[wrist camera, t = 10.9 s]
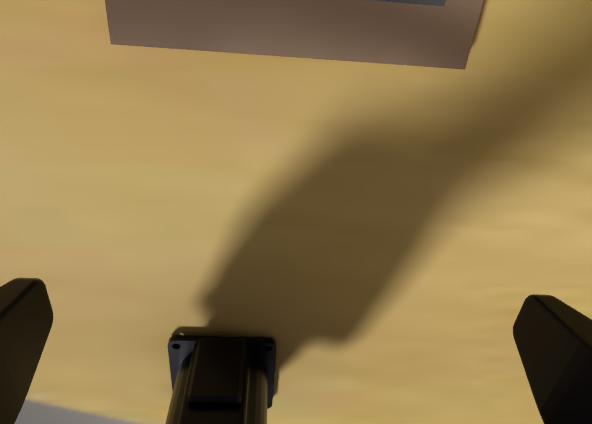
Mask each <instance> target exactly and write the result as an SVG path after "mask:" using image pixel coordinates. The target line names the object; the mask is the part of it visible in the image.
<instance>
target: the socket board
mask: <svg viewBox="0 0 592 424" xmlns="http://www.w3.org/2000/svg"><path fill="white" fill-rule="evenodd" d="M483 1H484V0H446V2H445V7H444V6H431V5H419V4H407V3H394V2H382V1H370V0H105V4H106V12H107V19H108V26H109V33H110V41H111V44H116V45H130V46H144V47H158V48H172V49H186V50H200V51H214V52H228V53H242V54H256V55H270V56H284V57H299V58H313V59H327V60H341V61H355V62H369V63H383V64H397V65H411V66H425V67H439V68H453V69H465V67H466V64H467V60H468V56H469V53H470V49H471V45H472V42H473V38H474V34H475V31H476V27H477V23H478V20H479V16H480V12H481V9H482V5H483Z"/></svg>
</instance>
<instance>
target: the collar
mask: <svg viewBox="0 0 592 424" xmlns="http://www.w3.org/2000/svg"><path fill="white" fill-rule="evenodd" d="M370 1H382V2H394V3H407V4H419V5H431V6H444V7H445V2H446V0H370Z"/></svg>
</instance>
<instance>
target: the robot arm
mask: <svg viewBox="0 0 592 424" xmlns="http://www.w3.org/2000/svg"><path fill="white" fill-rule="evenodd" d="M52 323H53V311H52V307H51V304H50V300H49V297H48V293H47V290H46V286H45V284H44V282H43V281H42V280H41V279H38V278H16V279H14V280H12V281H10V282H8V283H6V284H4V285H3V286H1V287H0V424H14V423H15V421H16V419H17V416H18V414H19V412H20V410H21V408H22V406H23V403H24V401H25V398H26V395H27V393H28V390H29V387H30V385H31V382H32V379H33V376H34V374H35V371H36V368H37V365H38V363H39V360H40V357H41V354H42V351H43V349H44V346H45V343H46V340H47V338H48V335H49V332H50V329H51V326H52ZM513 336H514V340H515V343H516V346H517V349H518V351H519V354H520V357H521V360H522V363H523V366H524V369H525V372H526V375H527V378H528V381H529V384H530V387H531V390H532V393H533V396H534V399H535V402H536V404H537V407H538V410H539V412H540V415H541V417H542V420H543V422H544V424H592V320H591V319H590V318H588V317H586V316H585V315H583V314H581V313H580V312H578V311H577V310H575V309H573V308H572V307H570V306H568V305H567V304H565V303H564V302H562V301H560V300H559V299H557V298H555V297H554V296H551V295H529V296H528V297H527V298H526V299H525V301H524V303H523V305H522V308H521V310H520V312H519V314H518V316H517V319H516V321H515V323H514V326H513ZM175 343H176V344H175ZM168 353H169V362H170V371H171V380H172V389H173V394H172V398H171V402H170V406H169V411H168V415H167V419H166V424H267V409H268V408H270V407H271V406H272V398H273V385H274V372H275V359H276V341H275V340H274V339H272V338H255V337H217V336H178V335H177V336H172V337H171V338H170V339H169V343H168Z"/></svg>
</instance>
